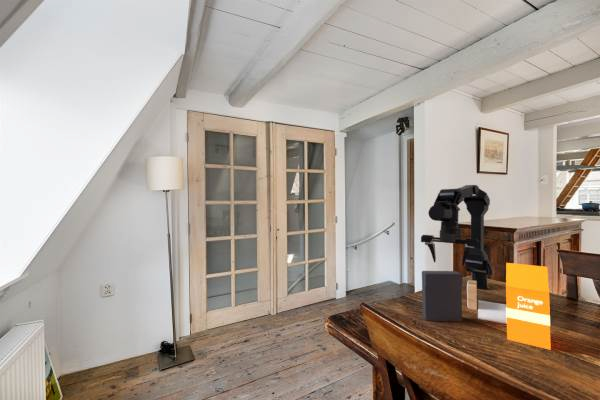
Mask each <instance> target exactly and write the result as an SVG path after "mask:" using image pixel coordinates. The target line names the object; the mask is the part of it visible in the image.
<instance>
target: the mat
mask: <svg viewBox="0 0 600 400" xmlns="http://www.w3.org/2000/svg"><path fill="white" fill-rule="evenodd" d="M477 319H478V320H483V321H489V322H494V323H499V324H505V325H507V317H506V304H505V303H499V302H492V301H485V300H479V299H477Z"/></svg>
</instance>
